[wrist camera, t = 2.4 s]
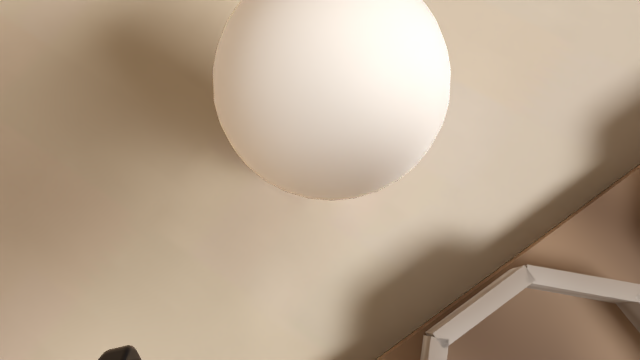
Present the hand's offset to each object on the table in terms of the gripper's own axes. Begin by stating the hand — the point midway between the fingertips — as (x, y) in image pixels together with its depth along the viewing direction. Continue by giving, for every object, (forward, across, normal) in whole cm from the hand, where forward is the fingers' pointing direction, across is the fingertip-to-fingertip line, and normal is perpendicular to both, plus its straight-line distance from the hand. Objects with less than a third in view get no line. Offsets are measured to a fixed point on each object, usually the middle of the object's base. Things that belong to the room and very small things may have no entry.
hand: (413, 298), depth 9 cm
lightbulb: (+13, 0, +5) cm, 14 cm away
